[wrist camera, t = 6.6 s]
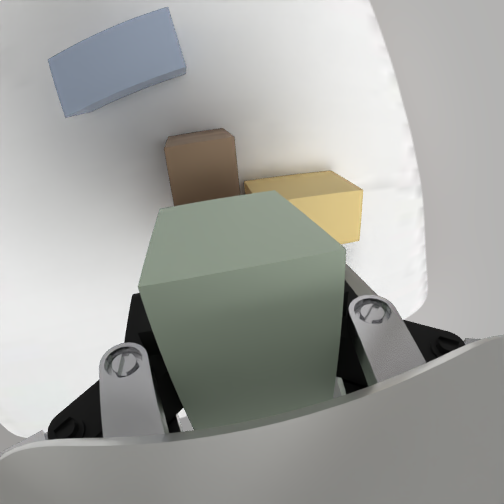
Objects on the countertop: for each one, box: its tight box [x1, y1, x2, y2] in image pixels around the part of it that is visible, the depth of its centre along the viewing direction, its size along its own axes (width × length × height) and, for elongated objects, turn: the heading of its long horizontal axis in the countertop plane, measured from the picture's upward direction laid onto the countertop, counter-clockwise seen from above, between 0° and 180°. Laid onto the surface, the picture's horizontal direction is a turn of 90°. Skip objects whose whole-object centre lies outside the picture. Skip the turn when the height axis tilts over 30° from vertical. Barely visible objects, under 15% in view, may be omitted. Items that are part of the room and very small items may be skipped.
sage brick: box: [138, 190, 346, 430], centre depth 9 cm, size 7×4×5 cm, turn 5°
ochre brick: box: [244, 171, 363, 244], centre depth 21 cm, size 7×4×5 cm, turn 95°
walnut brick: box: [164, 128, 240, 206], centre depth 19 cm, size 7×4×5 cm, turn 5°
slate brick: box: [48, 7, 186, 118], centre depth 14 cm, size 7×4×5 cm, turn 105°
